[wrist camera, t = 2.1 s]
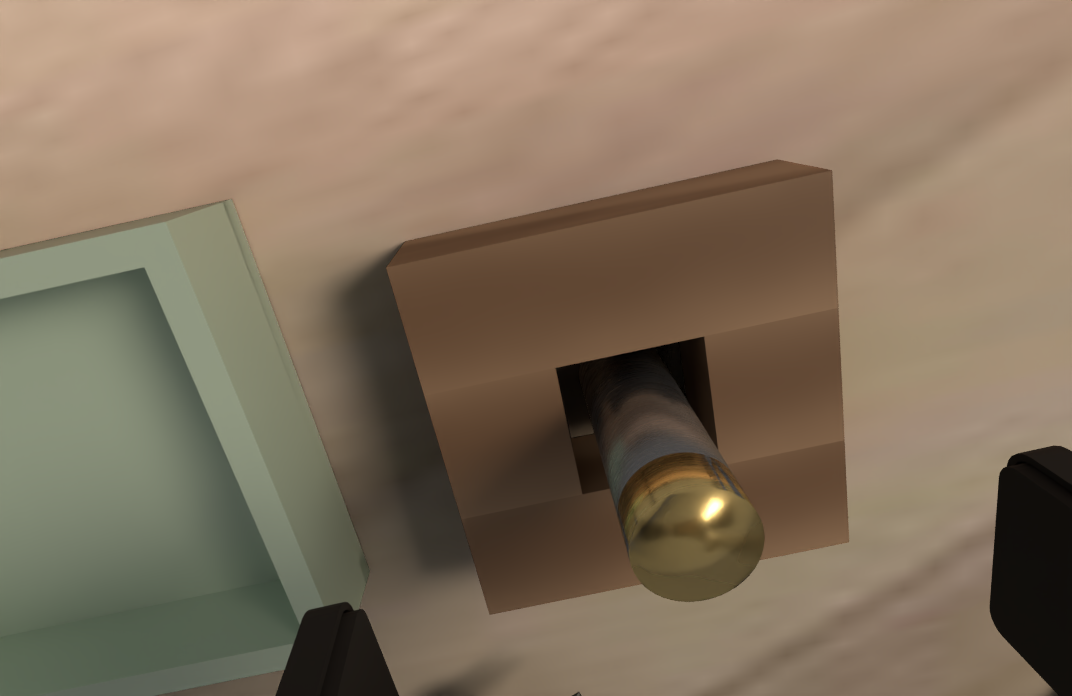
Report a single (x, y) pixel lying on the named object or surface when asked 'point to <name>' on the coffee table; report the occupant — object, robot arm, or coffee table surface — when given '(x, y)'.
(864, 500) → the coffee table surface
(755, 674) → the coffee table surface
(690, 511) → the pin
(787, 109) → the coffee table surface
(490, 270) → the block
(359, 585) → the tray
